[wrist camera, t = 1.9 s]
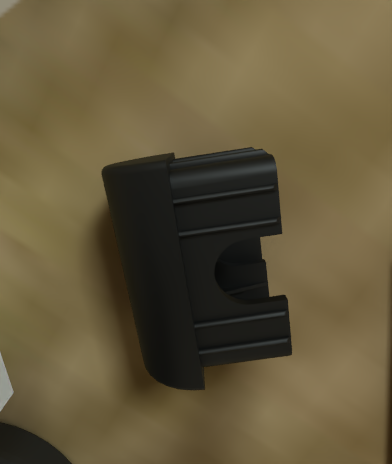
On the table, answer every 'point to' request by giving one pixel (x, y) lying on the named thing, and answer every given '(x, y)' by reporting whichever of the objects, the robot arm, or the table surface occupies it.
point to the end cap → (199, 260)
